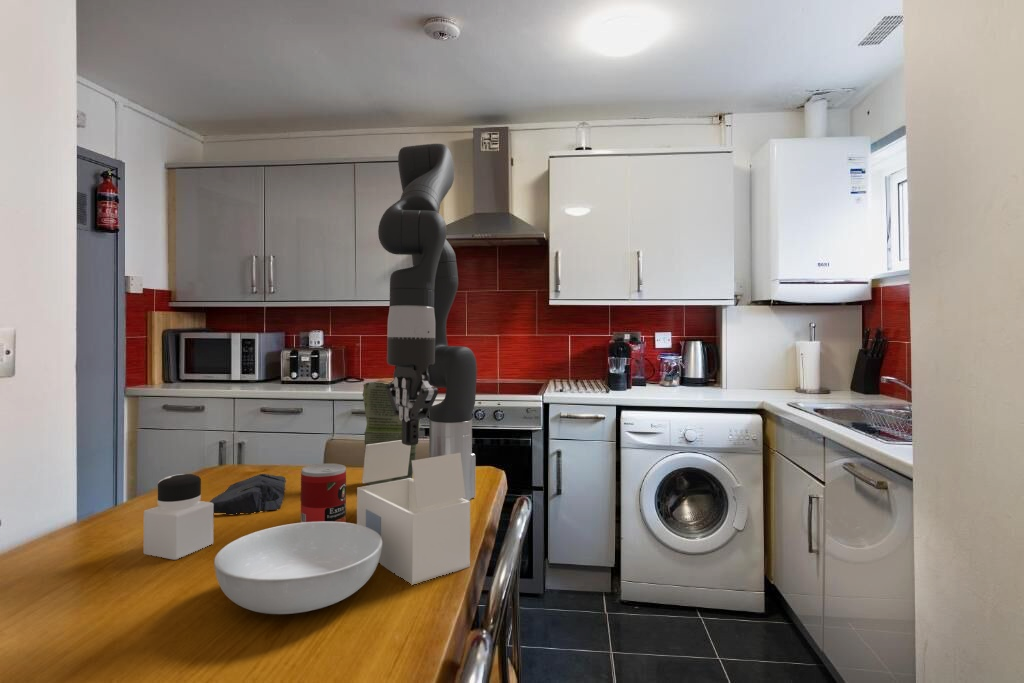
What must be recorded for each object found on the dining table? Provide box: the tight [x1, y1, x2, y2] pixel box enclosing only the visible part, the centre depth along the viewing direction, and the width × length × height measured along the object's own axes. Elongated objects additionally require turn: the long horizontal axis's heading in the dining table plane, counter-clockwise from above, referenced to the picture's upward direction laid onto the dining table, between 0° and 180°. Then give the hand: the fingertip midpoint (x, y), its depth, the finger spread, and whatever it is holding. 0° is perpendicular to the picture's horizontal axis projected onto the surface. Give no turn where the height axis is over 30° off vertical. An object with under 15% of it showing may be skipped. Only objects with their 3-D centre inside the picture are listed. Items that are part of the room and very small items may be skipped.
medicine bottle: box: [143, 473, 215, 561], centre depth 88 cm, size 7×7×12 cm
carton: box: [356, 477, 471, 586], centre depth 85 cm, size 10×18×10 cm, turn 41°
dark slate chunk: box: [209, 473, 287, 514], centre depth 116 cm, size 15×22×5 cm
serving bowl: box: [213, 521, 382, 615], centre depth 72 cm, size 21×21×7 cm
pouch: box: [362, 379, 421, 486], centre depth 129 cm, size 11×12×25 cm
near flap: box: [412, 453, 466, 508], centre depth 79 cm, size 8×7×1 cm
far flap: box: [361, 440, 411, 484], centre depth 91 cm, size 8×7×1 cm
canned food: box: [300, 463, 347, 523], centre depth 98 cm, size 8×8×11 cm
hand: (409, 444), depth 85 cm, fingers closed
